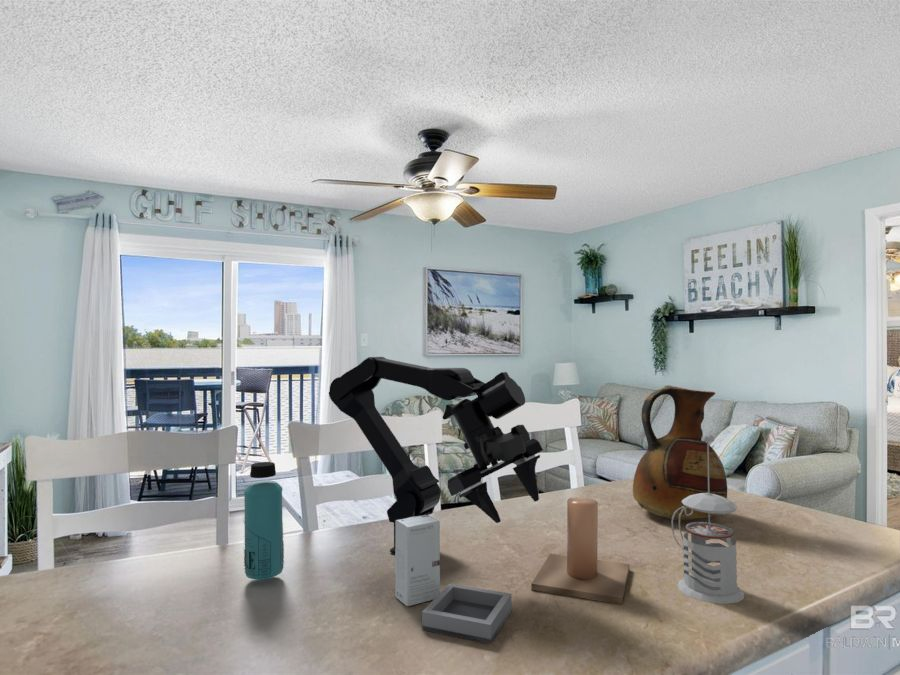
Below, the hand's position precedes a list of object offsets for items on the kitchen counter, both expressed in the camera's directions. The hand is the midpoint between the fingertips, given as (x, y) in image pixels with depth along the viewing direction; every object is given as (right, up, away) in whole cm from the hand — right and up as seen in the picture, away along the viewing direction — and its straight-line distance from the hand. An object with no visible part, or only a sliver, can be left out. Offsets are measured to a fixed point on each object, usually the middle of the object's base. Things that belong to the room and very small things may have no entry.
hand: (518, 511), depth 97 cm
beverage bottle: (-43, -11, -3) cm, 45 cm away
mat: (+10, -10, -4) cm, 15 cm away
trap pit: (-9, -10, -17) cm, 22 cm away
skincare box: (-17, -11, -10) cm, 22 cm away
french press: (+29, -10, -7) cm, 32 cm away
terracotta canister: (+10, -9, -3) cm, 14 cm away
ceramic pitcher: (+41, -11, +31) cm, 53 cm away
